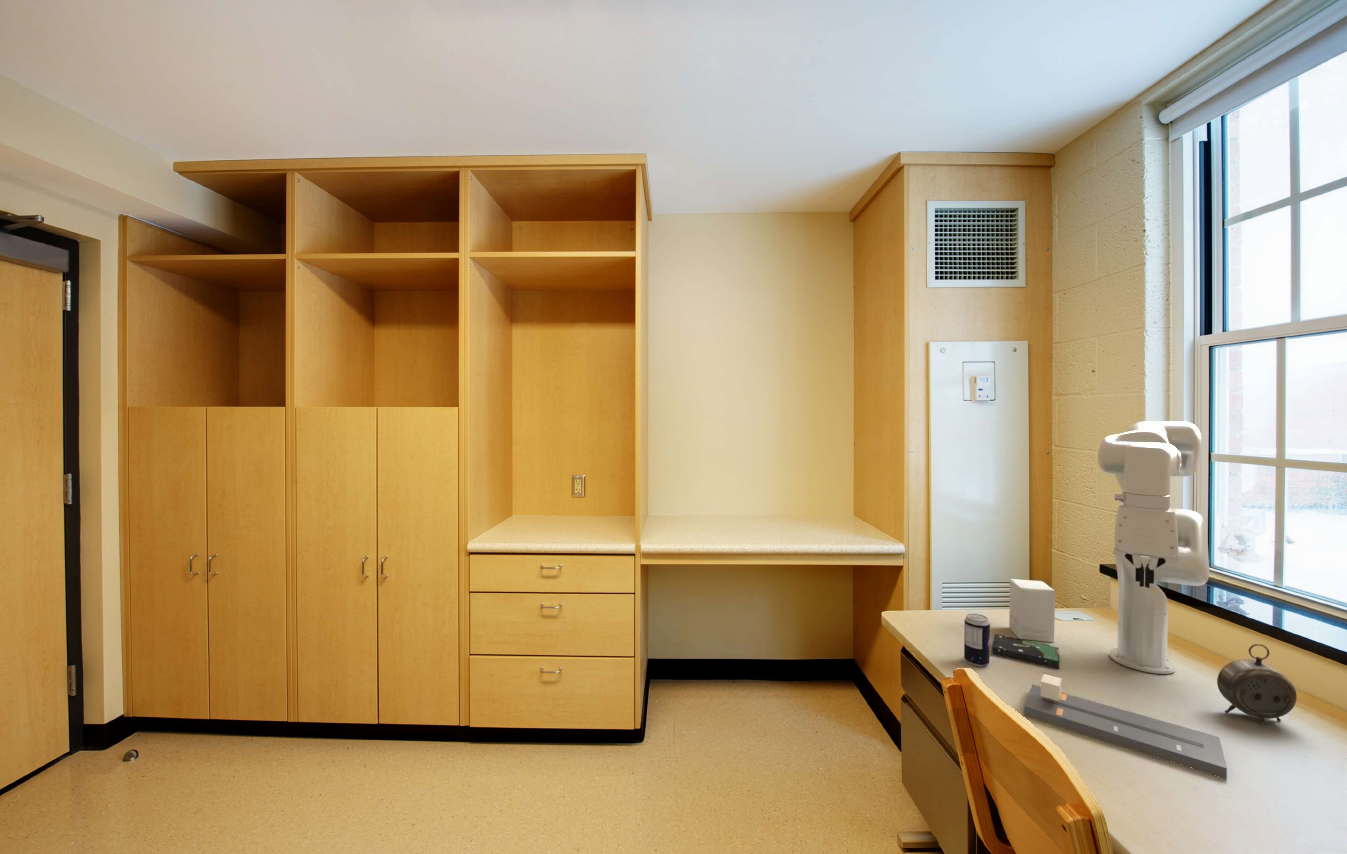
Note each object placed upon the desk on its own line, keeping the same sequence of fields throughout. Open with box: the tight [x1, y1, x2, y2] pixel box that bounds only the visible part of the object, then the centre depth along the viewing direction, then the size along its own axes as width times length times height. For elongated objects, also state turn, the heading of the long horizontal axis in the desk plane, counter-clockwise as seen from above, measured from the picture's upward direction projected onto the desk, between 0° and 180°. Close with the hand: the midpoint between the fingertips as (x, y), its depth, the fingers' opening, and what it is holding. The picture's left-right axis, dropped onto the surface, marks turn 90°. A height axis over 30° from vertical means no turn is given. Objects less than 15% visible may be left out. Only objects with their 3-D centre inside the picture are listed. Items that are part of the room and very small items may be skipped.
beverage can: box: [963, 613, 991, 668], centre depth 136 cm, size 6×6×12 cm
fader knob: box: [1040, 673, 1062, 701], centre depth 114 cm, size 4×3×4 cm
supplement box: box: [1008, 578, 1056, 643], centre depth 153 cm, size 9×9×15 cm
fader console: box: [1023, 683, 1228, 780], centre depth 107 cm, size 12×30×2 cm, turn 48°
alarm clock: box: [1216, 643, 1298, 726], centre depth 110 cm, size 11×5×16 cm, turn 71°
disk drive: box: [991, 633, 1061, 670], centre depth 140 cm, size 10×3×15 cm
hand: (1144, 585), depth 114 cm, fingers closed
